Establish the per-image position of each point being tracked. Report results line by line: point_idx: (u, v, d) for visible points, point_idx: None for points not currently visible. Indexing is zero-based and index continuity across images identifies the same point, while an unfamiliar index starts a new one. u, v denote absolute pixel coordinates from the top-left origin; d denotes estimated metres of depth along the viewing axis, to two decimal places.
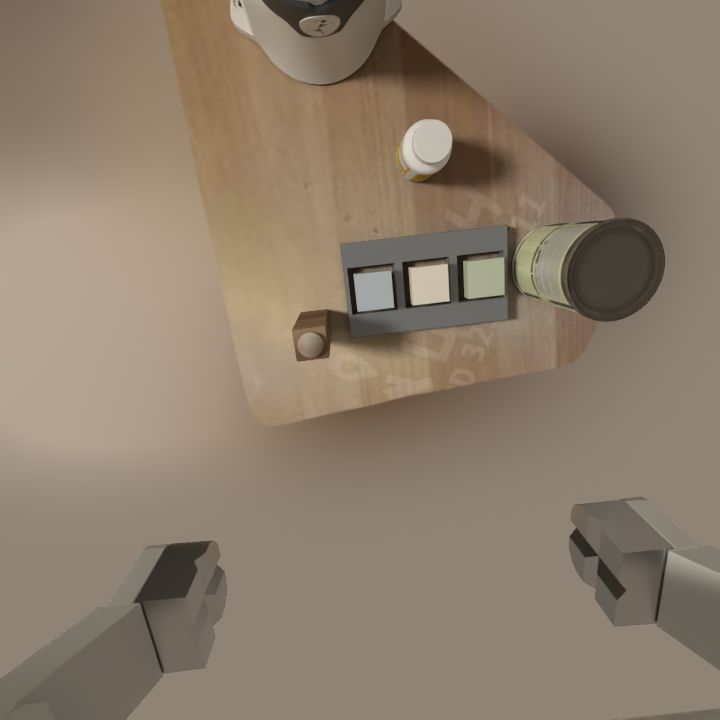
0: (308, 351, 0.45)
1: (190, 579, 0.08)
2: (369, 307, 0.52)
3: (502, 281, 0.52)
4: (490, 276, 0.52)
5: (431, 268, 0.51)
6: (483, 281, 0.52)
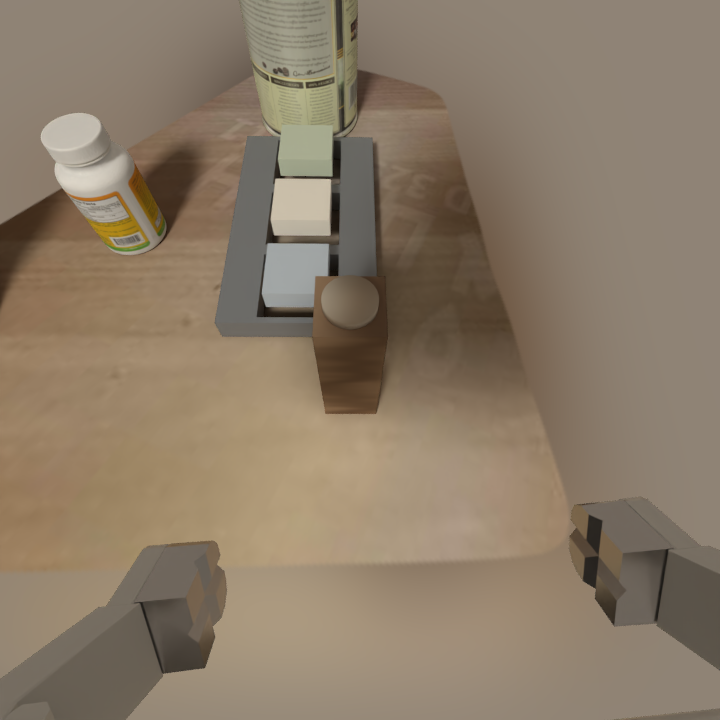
0: (363, 303, 0.20)
1: (190, 579, 0.08)
2: None
3: (314, 126, 0.38)
4: (304, 137, 0.37)
5: (277, 196, 0.34)
6: (310, 144, 0.36)
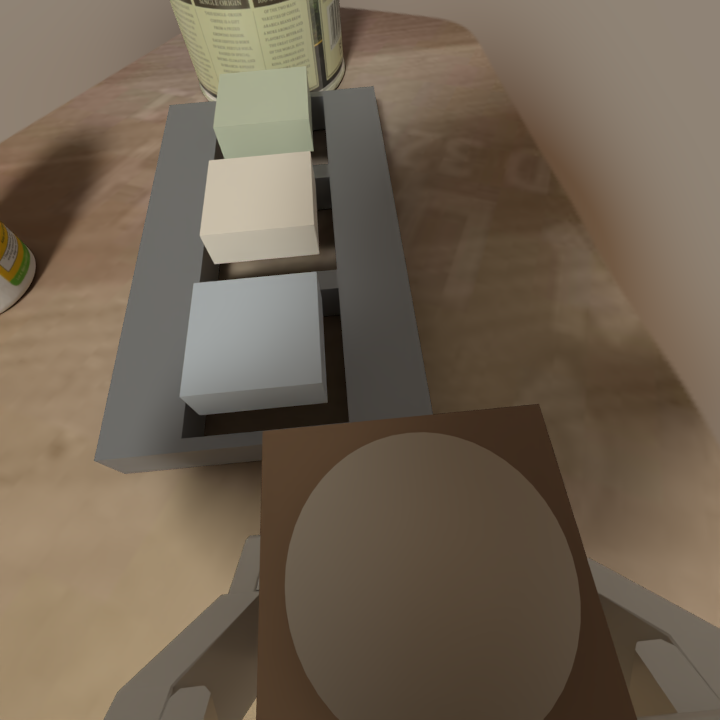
0: (503, 602, 0.04)
1: None
2: (308, 343, 0.14)
3: (274, 70, 0.22)
4: (258, 89, 0.21)
5: (212, 190, 0.18)
6: (269, 98, 0.21)
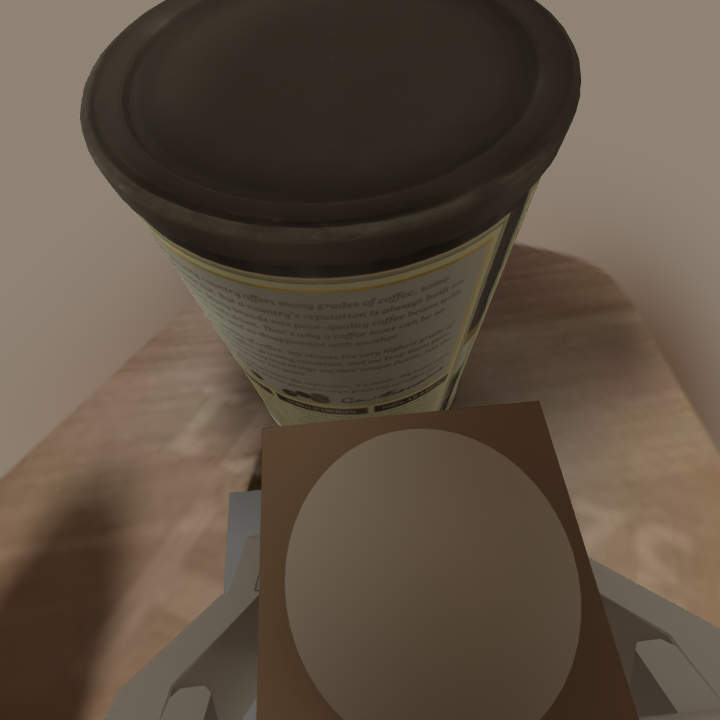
0: (504, 597, 0.04)
1: None
2: None
3: None
4: None
5: None
6: None
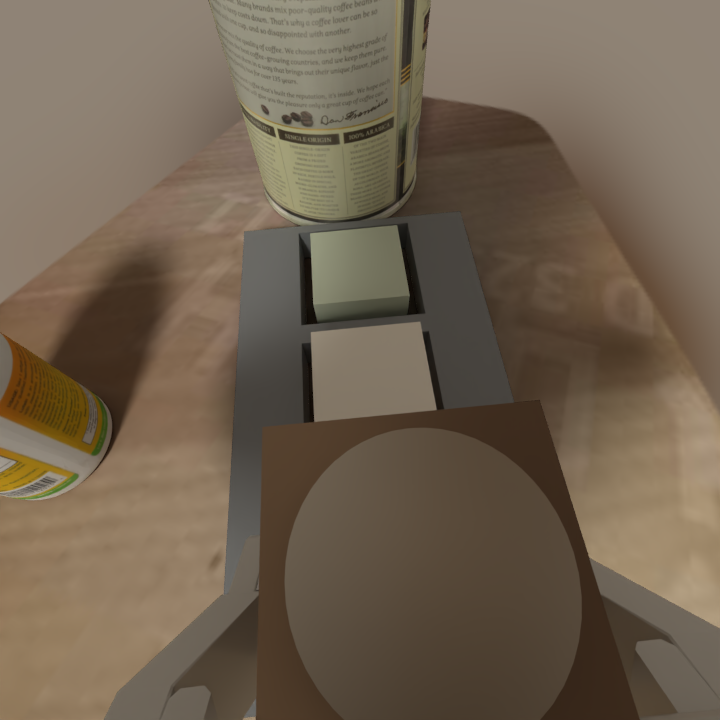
0: (503, 597, 0.04)
1: None
2: None
3: (365, 230, 0.22)
4: (352, 255, 0.21)
5: (320, 374, 0.16)
6: (365, 266, 0.21)
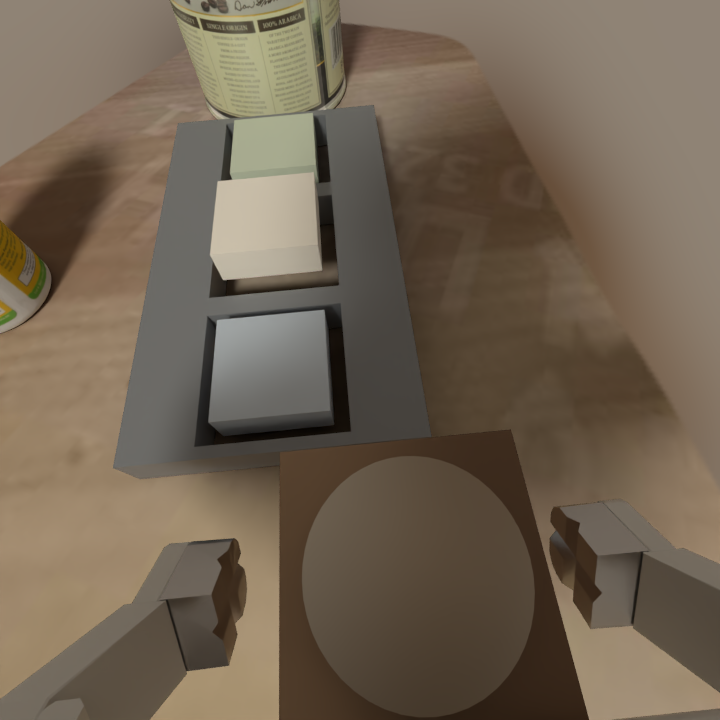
0: (473, 593, 0.05)
1: (214, 576, 0.08)
2: (318, 375, 0.16)
3: (283, 117, 0.24)
4: (269, 136, 0.23)
5: (221, 211, 0.19)
6: (280, 144, 0.23)
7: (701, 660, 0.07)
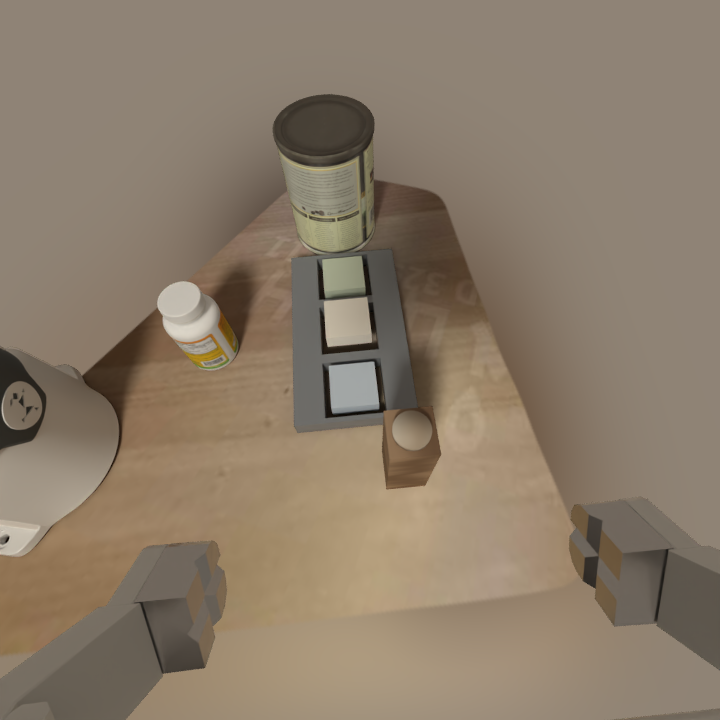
0: (422, 432, 0.29)
1: (190, 579, 0.08)
2: (373, 389, 0.40)
3: (347, 258, 0.48)
4: (341, 269, 0.48)
5: (327, 316, 0.43)
6: (346, 274, 0.47)
7: None
